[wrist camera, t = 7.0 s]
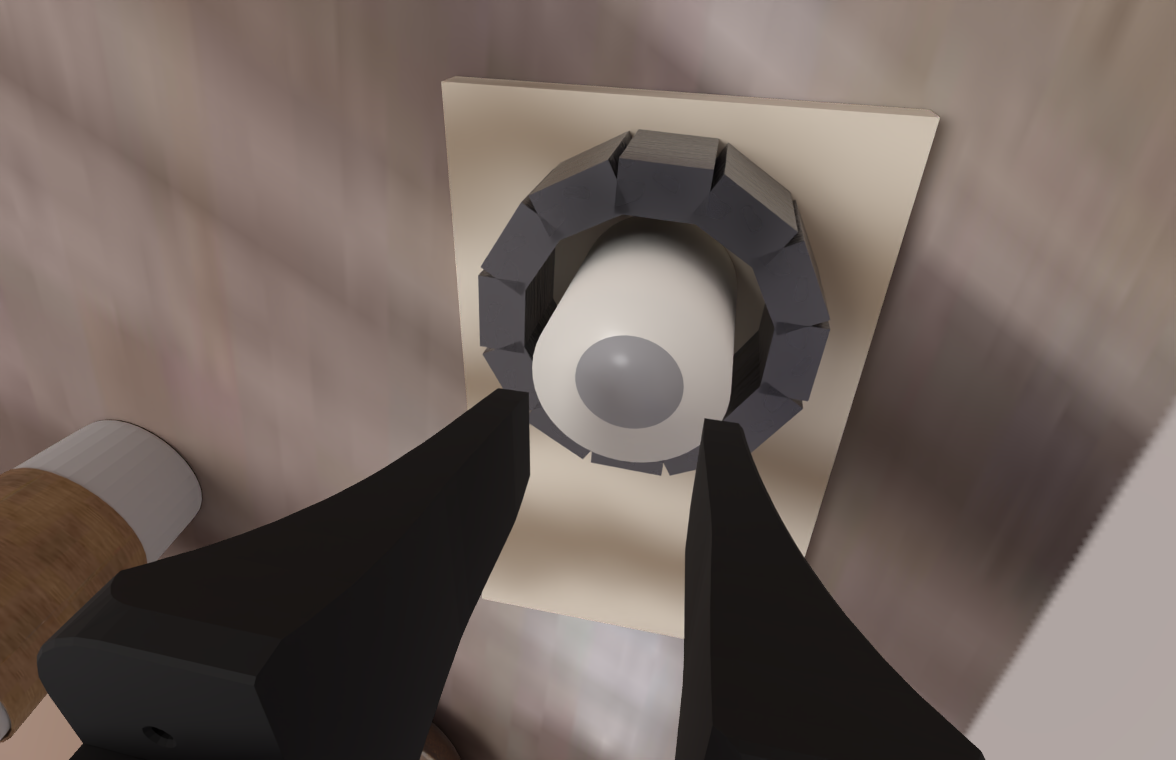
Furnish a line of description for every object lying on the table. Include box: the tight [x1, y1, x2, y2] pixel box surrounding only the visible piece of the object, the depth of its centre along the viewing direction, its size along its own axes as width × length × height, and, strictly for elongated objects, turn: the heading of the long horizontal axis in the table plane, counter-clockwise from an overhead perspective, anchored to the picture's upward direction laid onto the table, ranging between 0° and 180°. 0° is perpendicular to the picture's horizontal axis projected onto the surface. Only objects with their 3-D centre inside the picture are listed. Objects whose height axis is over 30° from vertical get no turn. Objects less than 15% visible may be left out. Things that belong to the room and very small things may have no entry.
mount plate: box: [441, 76, 940, 639], centre depth 22 cm, size 20×12×1 cm, turn 178°
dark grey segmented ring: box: [478, 129, 830, 476], centre depth 17 cm, size 8×8×3 cm
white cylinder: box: [532, 216, 737, 462], centre depth 16 cm, size 4×4×5 cm
